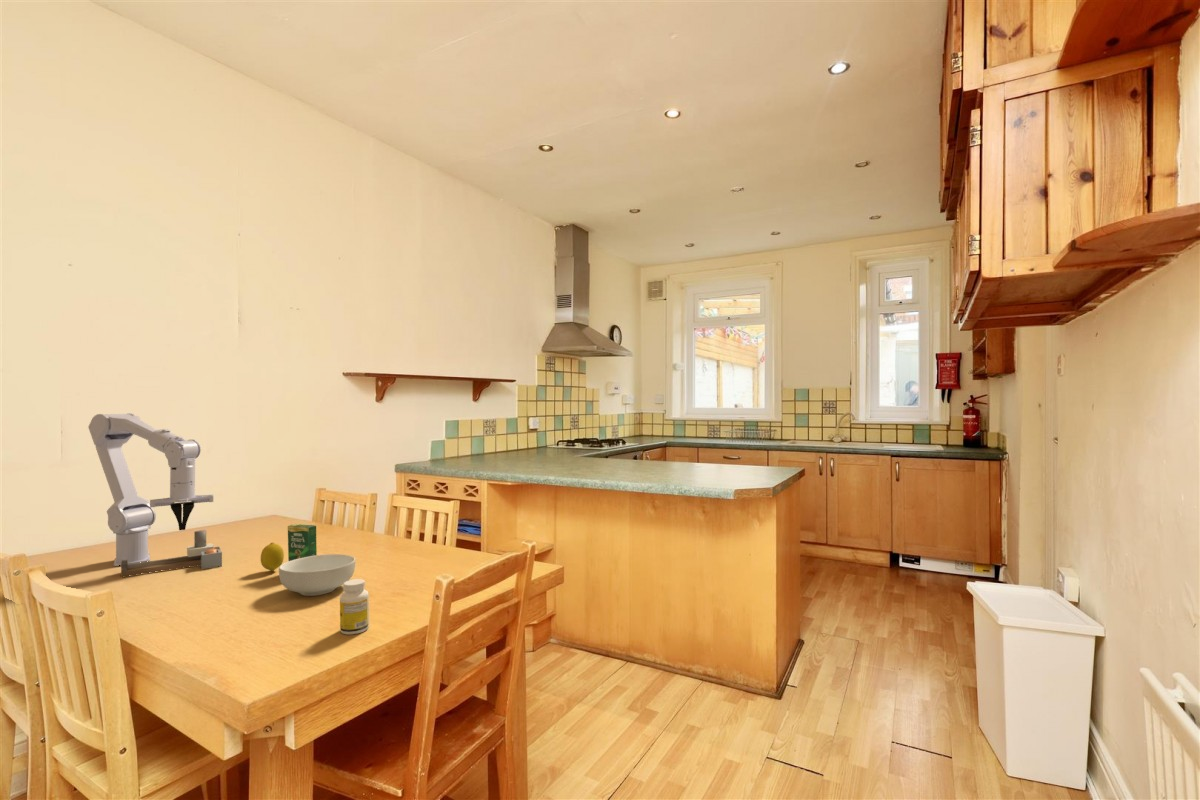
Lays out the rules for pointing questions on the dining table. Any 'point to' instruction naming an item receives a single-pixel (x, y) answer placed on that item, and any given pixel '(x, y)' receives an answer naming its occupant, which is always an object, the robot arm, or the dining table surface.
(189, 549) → the carriage
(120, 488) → the robot arm
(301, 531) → the coffee box
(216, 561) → the box
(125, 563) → the rail board
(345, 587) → the supplement bottle
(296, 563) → the cereal bowl
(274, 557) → the lemon
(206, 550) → the orange cylindrical peg
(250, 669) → the dining table surface
